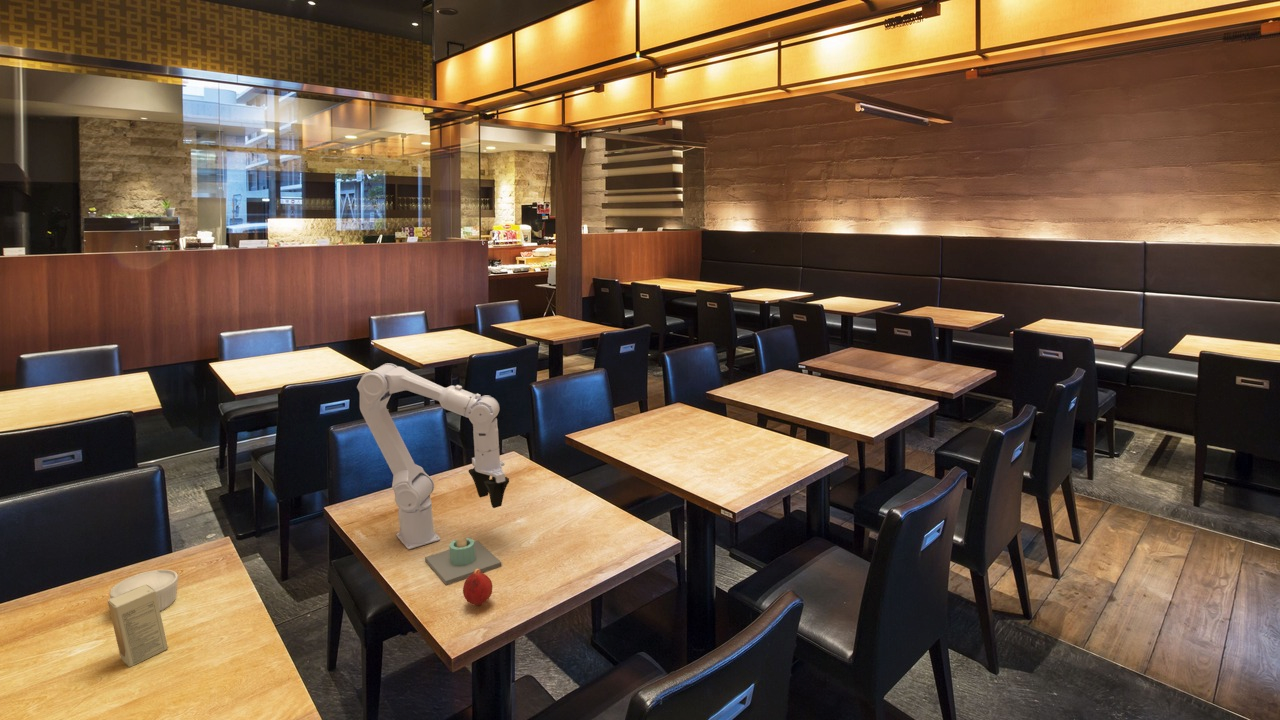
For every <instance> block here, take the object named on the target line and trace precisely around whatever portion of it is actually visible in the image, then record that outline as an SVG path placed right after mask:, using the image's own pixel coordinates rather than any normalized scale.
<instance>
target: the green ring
mask: <svg viewBox="0 0 1280 720" xmlns="http://www.w3.org/2000/svg"><path fill="white" fill-rule="evenodd" d="M465 538H466V540H467V546H465V547H460V548H458V547H457V542H456V540H457V539H458V538H457V539H456V538H455V539H454V540H452V541H451V542H450V543H449V544H448V545H449V546H448V547H449V548H448V550H449V549H450V562H451V563H452V564H453V565H456V566H464V565H468V564H471V563H472V562H473V561H475V543H474V542H475V540H474V539H472V538H469V537H465Z"/></svg>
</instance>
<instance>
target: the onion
mask: <svg viewBox="0 0 1280 720" xmlns="http://www.w3.org/2000/svg"><path fill="white" fill-rule="evenodd" d="M480 571H481V570H480V569H475V571H474V573H473V574H472V575H470V576H469V577H468V578H466V579H465V581H464V584H463V587H462V594H463V597H464V599H465V601H467V602H468V603H469V604H471V605H473V606H477V607H480V606H482V605H483V604H484V603H486V602H487V601H488V600H489V599H490V598H491V595H492V594H493V582H492V580H491V578H489V576H488V575H487V574H485V573H484V572H483V573H480Z"/></svg>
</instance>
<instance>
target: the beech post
mask: <svg viewBox="0 0 1280 720" xmlns="http://www.w3.org/2000/svg"><path fill="white" fill-rule="evenodd" d="M466 538H467V537H464V536H461V537H458V538H457V540H456V539H455V540H456V542H457V547H458V548H460V547H465V546H467V540H466Z"/></svg>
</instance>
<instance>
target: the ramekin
mask: <svg viewBox="0 0 1280 720" xmlns="http://www.w3.org/2000/svg"><path fill="white" fill-rule="evenodd" d="M178 582H179V574H178V573H177V572H176V571H174V570H171V569H155V570H154V569H152V570H148V571H144V572H141V573H136V574H134V575H132V576H129V577H127V578H124V579H122V580H121V581H119V582H117V583H116V584H115V585H114V586H113V587H111V589H110V591H109V597H110V598H109V599H111V598H113V597H116V596H118V595H121V594H123V593H126V592H128V591H130V590H133V589H135V588H138V587H140V586H143V585H145V584H147V585H148V586H150V587H151V588H153V589H154V590H155V591H156V596H157V600H158V605H159V610H160V612H162V611H163V610H166V609H167V608H168V607H170V606H171V605H172V604H173V603H174V601H175V600H176V598H177V593H178Z"/></svg>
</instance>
